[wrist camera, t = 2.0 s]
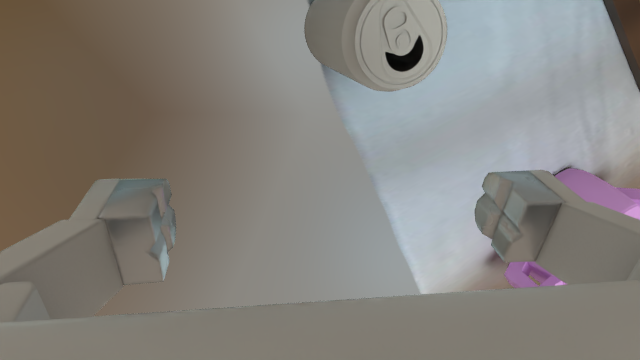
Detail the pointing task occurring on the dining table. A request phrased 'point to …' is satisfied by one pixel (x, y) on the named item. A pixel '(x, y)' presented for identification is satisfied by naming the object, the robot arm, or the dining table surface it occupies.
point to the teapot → (590, 190)
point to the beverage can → (378, 39)
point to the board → (627, 30)
